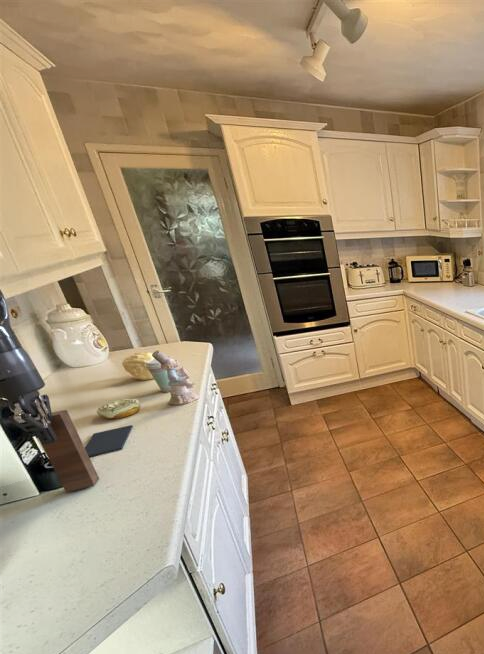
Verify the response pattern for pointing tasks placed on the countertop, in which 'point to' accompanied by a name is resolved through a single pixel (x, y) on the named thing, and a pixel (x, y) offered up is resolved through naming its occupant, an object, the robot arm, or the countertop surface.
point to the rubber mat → (107, 441)
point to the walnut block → (69, 455)
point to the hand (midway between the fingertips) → (50, 441)
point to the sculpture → (138, 365)
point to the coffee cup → (159, 374)
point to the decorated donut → (119, 409)
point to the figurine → (176, 380)
